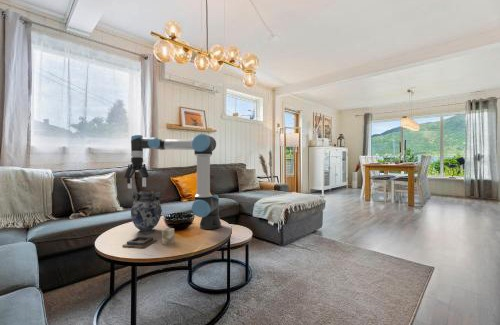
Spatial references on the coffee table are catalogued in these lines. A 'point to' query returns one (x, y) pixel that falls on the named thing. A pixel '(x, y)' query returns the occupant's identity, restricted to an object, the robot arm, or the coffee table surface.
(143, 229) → the decorative vase
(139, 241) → the base board
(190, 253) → the coffee table surface
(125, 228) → the coffee table surface
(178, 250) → the coffee table surface
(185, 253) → the coffee table surface
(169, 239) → the birch block
